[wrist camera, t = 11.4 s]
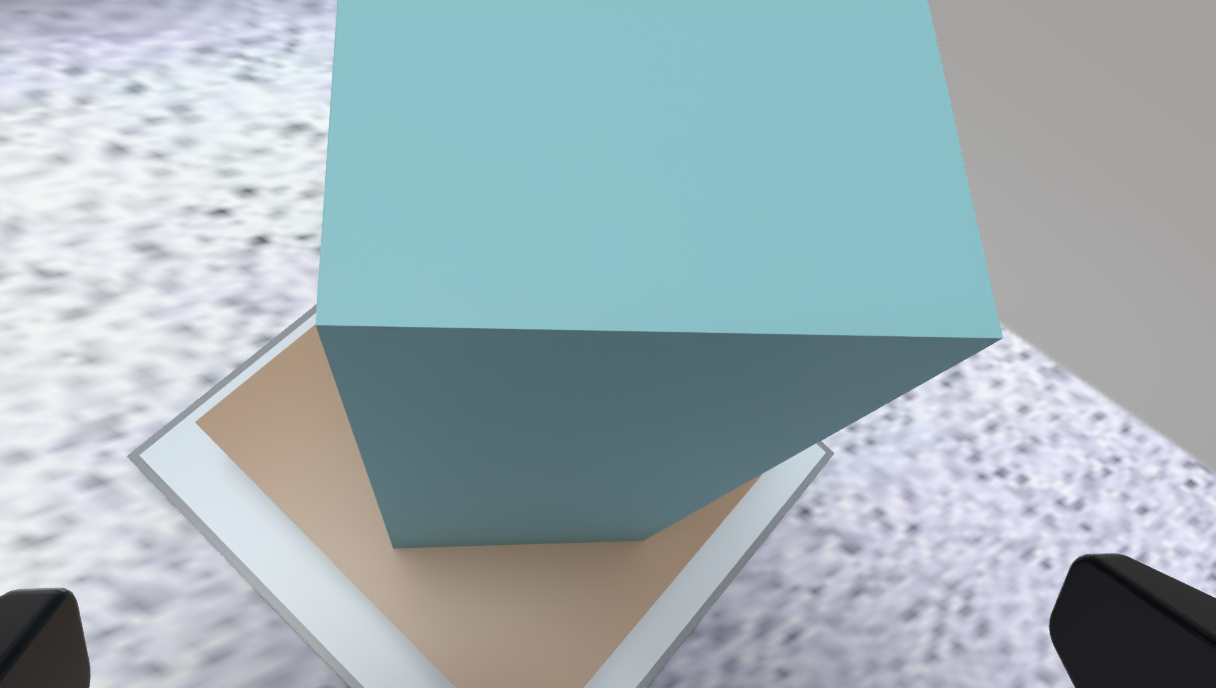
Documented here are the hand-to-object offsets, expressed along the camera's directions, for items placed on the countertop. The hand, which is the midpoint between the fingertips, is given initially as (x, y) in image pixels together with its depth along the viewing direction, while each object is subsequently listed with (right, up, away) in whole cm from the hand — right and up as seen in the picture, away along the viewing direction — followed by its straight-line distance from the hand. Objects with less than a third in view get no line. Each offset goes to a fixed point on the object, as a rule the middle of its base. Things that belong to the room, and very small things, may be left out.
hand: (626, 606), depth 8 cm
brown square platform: (-3, -1, +14) cm, 14 cm away
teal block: (-2, +1, +10) cm, 11 cm away
